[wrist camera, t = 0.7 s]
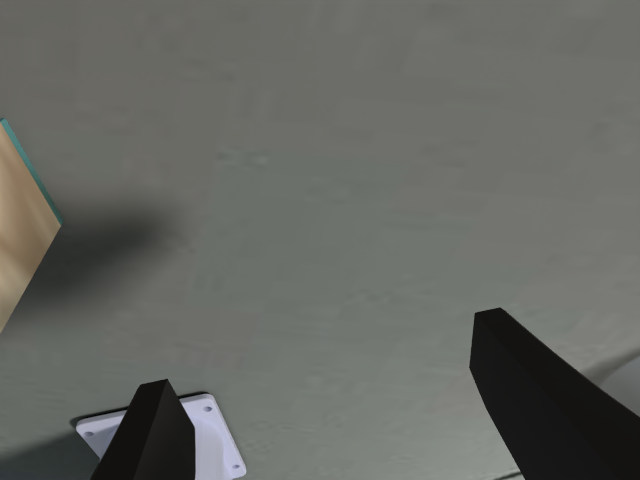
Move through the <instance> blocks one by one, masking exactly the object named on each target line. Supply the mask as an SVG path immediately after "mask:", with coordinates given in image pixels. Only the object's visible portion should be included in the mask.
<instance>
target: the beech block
mask: <svg viewBox="0 0 640 480" xmlns="http://www.w3.org/2000/svg"><path fill="white" fill-rule="evenodd" d="M63 221H64V220H63V218H62V217H61V215H60V213H59V211H58V210H57V208H56V206H55V204H54V203H53V201H52V199H51V198H50V196H49V194H48V192H47V191H46V189H45V187H44V185H43V184H42V182H41V180H40V178H39V177H38V175H37V173H36V171H35V170H34V168H33V166H32V164H31V163H30V161H29V159H28V157H27V156H26V154H25V152H24V150H23V149H22V147H21V145H20V143H19V142H18V140H17V138H16V136H15V135H14V133H13V131H12V130H11V128H10V126H9V124H8V123H7V121H6V119H5V118H1V119H0V334H1V332H2V330H3V328H4V327H5V325H6V323H7V321H8V320H9V318H10V316H11V314H12V312H13V311H14V309H15V307H16V305H17V303H18V302H19V300H20V298H21V296H22V295H23V293H24V291H25V289H26V287H27V286H28V284H29V282H30V280H31V279H32V277H33V275H34V273H35V271H36V270H37V268H38V266H39V264H40V262H41V261H42V259H43V257H44V255H45V254H46V252H47V250H48V248H49V246H50V245H51V243H52V241H53V239H54V238H55V236H56V234H57V232H58V230H59V229H60V227H61V225H62V223H63Z"/></svg>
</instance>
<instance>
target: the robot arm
mask: <svg viewBox="0 0 640 480" xmlns="http://www.w3.org/2000/svg"><path fill="white" fill-rule="evenodd" d="M469 368H470V370H471V373H472V375H473V378H474V380H475V383H476V385H477V388H478V390H479V393H480V395H481V397H482V400H483V402H484V404H485V407H486V409H487V411H488V413H489V415H490V417H491V418H492V420H493V422H494V424H495V426H496V428H497V429H498V431H499V433H500V435H501V437H502V439H503V440H504V442H505V444H506V446H507V448H508V449H509V451H510V453H511V455H512V457H513V458H514V460H515V462H516V464H517V466H518V467H519V469H520V471H521V473H522V475H523V477H524V478H525V480H640V417H639V416H637V415H636V414H635V413H633V412H632V411H631V410H629V409H628V408H626V407H625V406H624V405H622V404H621V403H619V402H618V401H617V400H615V399H614V398H612V397H611V396H610V395H608V394H607V393H606V392H604V391H603V390H602V389H600V388H599V387H598V386H596V385H595V384H594V383H592V382H591V381H590V380H589V379H587V378H586V377H585V376H583V375H582V374H581V373H580V372H578V371H577V370H576V369H574V368H573V367H572V366H571V365H569V364H568V363H567V362H566V361H564V360H563V359H562V358H561V357H559V356H558V355H557V354H556V353H554V352H553V351H552V350H551V349H550V348H548V347H547V346H546V345H545V344H544V343H542V342H541V341H540V340H539V339H538V338H536V337H535V336H534V335H533V334H532V333H530V332H529V331H528V330H527V329H526V328H525V327H523V326H522V325H521V324H520V323H519V322H518V321H516V320H515V319H514V318H513V317H512V316H511V315H509V314H508V313H507V312H506V311H505V310H503V309H502V308H495V309H490V310H486V311H481V312H476V313H475V317H474V327H473V337H472V347H471V356H470V366H469ZM76 431H77V432H78V433H79V434H80V435H81V436H82V438H83V439H84V440H85V441H86V442H87V444H88V445H89V446H90V447H91V448H92V450H93V451H94V452H95V453H96V454H97V455H98V457H99V458H100V462H99V464H98V466H97V468H96V470H95V471H94V473H93V475H92V477H91V479H90V480H232V478H237V477H241V476H244V475H245V474H246V466H245V464H244V462H243V460H242V458H241V455H240V453H239V451H238V449H237V447H236V444H235V442H234V440H233V438H232V436H231V434H230V431H229V429H228V427H227V425H226V423H225V421H224V418H223V416H222V414H221V412H220V410H219V408H218V405H217V403H216V401H215V399H214V397H213V396H212V395H210V394H201V395H196V396H192V397H187V398H182V399H179V398H178V397H177V395H176V393H175V391H174V390H173V388H172V386H171V384H170V382H169V381H168V379H164V380H160V381H155V382H150V383H146V384H141V385H140V386H139V388H138V389H137V391H136V393H135V395H134V397H133V399H132V401H131V403H130V405H129V407H128V409H127V410H124V411H119V412H115V413H110V414H105V415H100V416H95V417H91V418H86V419H82V420H80V421H78V423H77V426H76Z"/></svg>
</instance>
